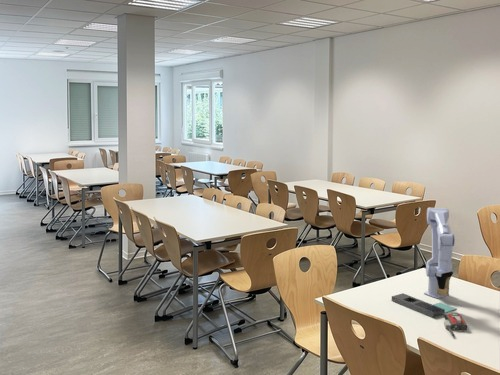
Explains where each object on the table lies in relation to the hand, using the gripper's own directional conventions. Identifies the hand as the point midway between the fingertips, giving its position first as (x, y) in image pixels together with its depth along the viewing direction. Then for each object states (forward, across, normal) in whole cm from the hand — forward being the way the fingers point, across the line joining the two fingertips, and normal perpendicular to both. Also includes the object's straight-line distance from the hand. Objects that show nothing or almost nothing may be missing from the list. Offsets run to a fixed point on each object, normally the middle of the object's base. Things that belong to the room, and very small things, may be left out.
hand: (443, 287), depth 227 cm
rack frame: (+10, +6, -9) cm, 15 cm away
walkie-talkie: (+11, +18, +12) cm, 24 cm away
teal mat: (+10, 0, 0) cm, 10 cm away
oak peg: (+3, 0, 0) cm, 3 cm away
